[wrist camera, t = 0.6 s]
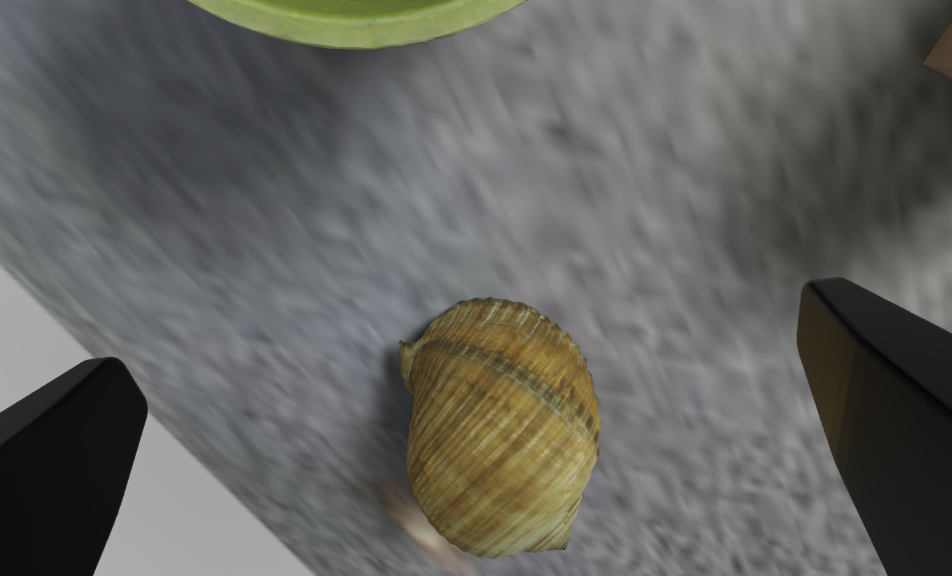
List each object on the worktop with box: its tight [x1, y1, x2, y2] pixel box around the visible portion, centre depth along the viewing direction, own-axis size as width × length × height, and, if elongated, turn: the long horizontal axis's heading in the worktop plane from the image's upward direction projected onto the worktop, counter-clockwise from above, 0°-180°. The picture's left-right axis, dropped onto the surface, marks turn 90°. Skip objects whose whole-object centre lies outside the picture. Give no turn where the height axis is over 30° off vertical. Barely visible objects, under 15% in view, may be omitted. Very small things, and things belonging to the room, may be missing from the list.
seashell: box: [399, 297, 601, 559], centre depth 25 cm, size 10×7×8 cm
